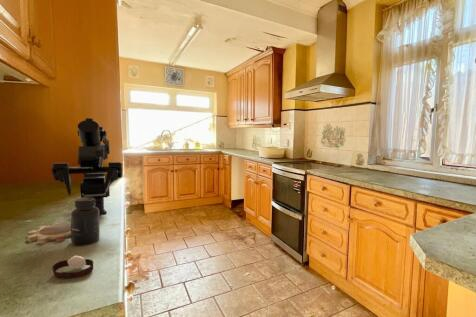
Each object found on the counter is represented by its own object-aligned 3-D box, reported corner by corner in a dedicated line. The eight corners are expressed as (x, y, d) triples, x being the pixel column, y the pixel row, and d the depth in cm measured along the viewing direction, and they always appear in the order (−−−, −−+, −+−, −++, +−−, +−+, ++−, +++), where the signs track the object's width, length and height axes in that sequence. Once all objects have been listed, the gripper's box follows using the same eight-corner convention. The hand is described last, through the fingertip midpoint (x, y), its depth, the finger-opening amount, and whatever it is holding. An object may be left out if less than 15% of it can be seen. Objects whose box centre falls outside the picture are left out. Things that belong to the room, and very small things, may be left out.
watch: (97, 267, 55) (97, 252, 54) (88, 279, 50) (87, 262, 50) (59, 269, 54) (59, 253, 53) (46, 281, 49) (46, 264, 49)
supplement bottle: (66, 247, 63) (65, 202, 62) (76, 237, 70) (75, 196, 69) (96, 245, 65) (95, 201, 64) (102, 235, 72) (102, 195, 71)
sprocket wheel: (28, 230, 74) (28, 226, 74) (83, 221, 83) (83, 217, 83) (26, 248, 63) (26, 242, 62) (90, 235, 72) (90, 230, 72)
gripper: (51, 136, 72) (42, 178, 63) (121, 137, 80) (121, 175, 71) (58, 160, 79) (51, 201, 70) (121, 159, 87) (122, 196, 78)
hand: (87, 193), depth 72 cm, fingers open, 9 cm apart
